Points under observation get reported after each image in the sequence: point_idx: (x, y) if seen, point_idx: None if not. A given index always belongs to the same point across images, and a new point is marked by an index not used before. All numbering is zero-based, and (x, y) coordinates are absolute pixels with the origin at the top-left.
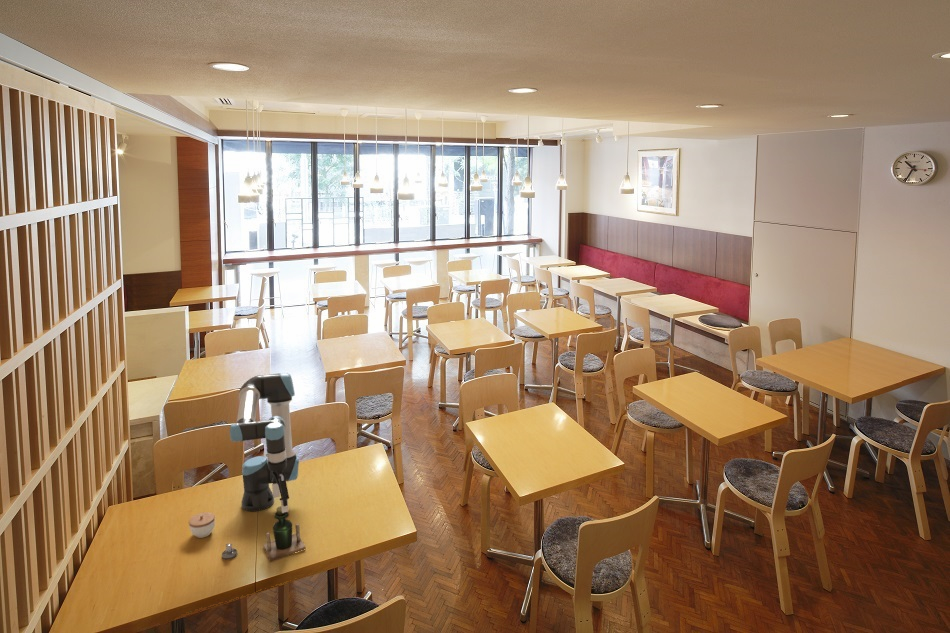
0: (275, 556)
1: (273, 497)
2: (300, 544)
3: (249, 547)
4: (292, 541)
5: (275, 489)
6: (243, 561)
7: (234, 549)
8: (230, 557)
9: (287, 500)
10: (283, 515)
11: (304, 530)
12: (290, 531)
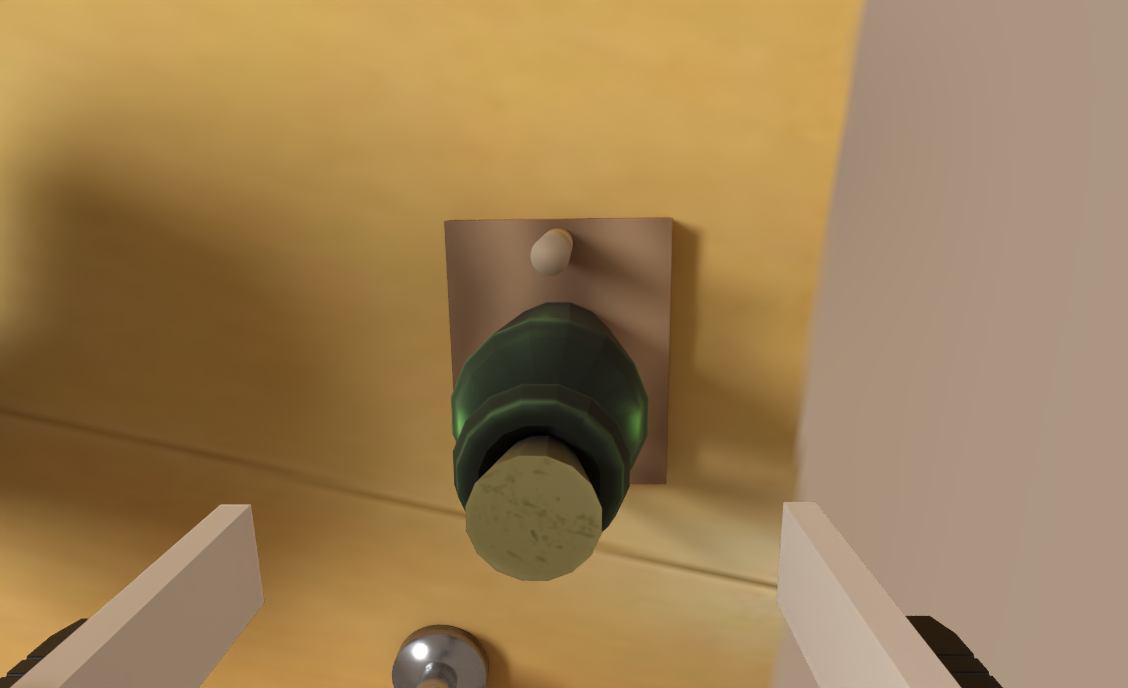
0: (662, 446)
1: (249, 606)
2: (618, 244)
3: (418, 549)
4: (542, 289)
5: (159, 680)
6: (557, 611)
7: (417, 648)
8: (486, 677)
9: (933, 659)
10: (610, 474)
11: (397, 146)
12: (618, 345)
